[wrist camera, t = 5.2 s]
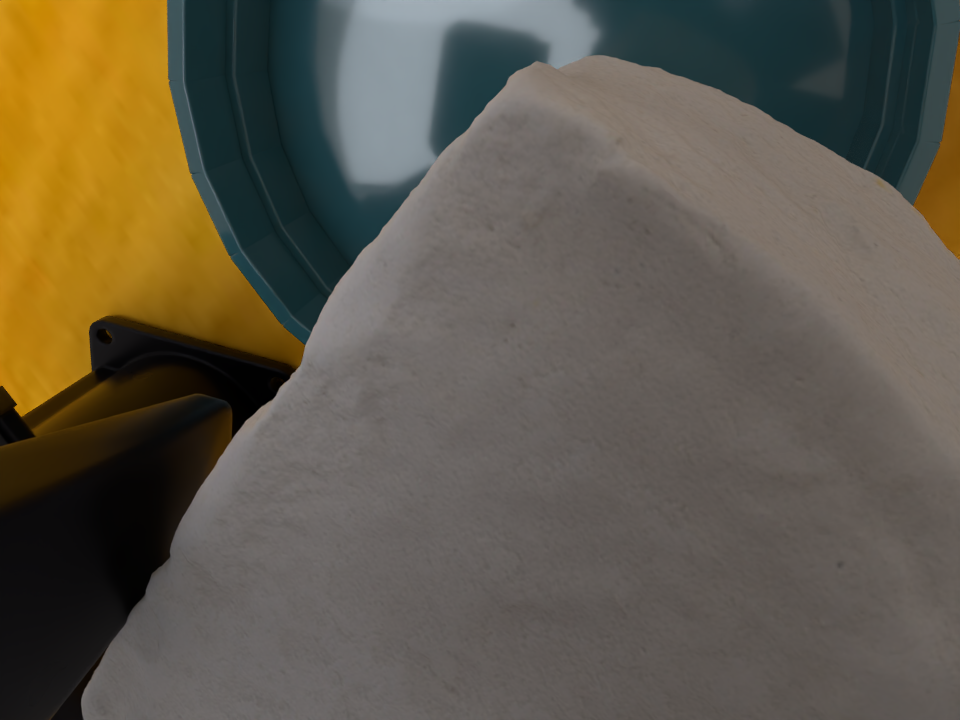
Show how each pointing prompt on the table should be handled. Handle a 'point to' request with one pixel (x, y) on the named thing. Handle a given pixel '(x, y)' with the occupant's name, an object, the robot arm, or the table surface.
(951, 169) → the table surface
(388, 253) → the grey stone block
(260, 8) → the bowl
